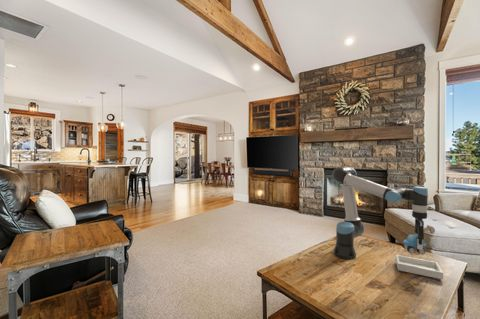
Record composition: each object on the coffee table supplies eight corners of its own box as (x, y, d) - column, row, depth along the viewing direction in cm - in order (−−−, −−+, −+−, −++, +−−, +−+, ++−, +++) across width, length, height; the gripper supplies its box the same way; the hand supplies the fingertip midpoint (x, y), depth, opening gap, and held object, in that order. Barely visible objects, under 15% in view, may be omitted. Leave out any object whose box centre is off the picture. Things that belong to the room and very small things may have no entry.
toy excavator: (437, 255, 144) (438, 228, 143) (407, 253, 148) (407, 226, 147) (429, 250, 152) (430, 223, 152) (400, 247, 156) (401, 222, 155)
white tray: (397, 272, 149) (398, 263, 149) (395, 262, 162) (396, 254, 162) (442, 281, 138) (443, 272, 138) (436, 270, 151) (437, 262, 151)
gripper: (430, 216, 137) (429, 254, 138) (423, 208, 156) (422, 241, 157) (414, 214, 141) (413, 251, 142) (410, 207, 160) (409, 239, 161)
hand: (418, 246), depth 150 cm, fingers closed on toy excavator, 9 cm apart
